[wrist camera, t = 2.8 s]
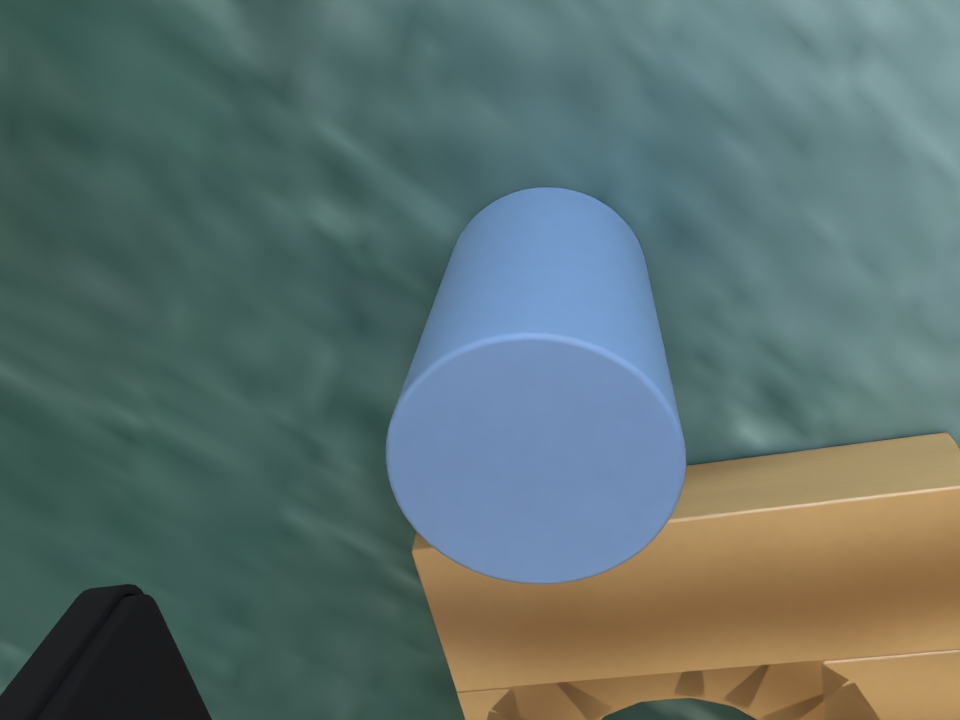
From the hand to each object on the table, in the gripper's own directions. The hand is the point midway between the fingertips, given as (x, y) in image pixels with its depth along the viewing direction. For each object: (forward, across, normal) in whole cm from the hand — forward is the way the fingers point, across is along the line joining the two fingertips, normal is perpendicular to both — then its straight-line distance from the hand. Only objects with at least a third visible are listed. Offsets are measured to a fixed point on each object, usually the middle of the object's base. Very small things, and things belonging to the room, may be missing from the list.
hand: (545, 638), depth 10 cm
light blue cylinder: (+10, 0, -1) cm, 10 cm away
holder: (+10, -2, +12) cm, 16 cm away
